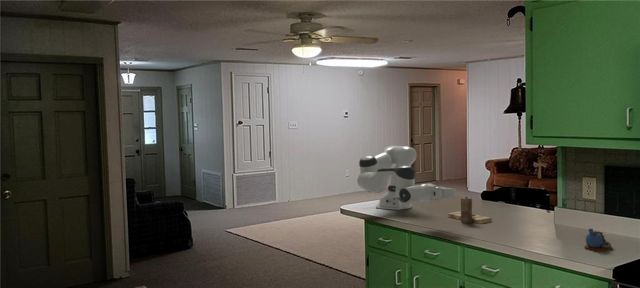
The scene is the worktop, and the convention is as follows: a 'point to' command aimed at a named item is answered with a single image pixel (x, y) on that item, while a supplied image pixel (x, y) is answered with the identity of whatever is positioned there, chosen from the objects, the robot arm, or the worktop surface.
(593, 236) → the model
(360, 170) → the robot arm
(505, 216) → the worktop surface
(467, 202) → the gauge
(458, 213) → the board
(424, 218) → the worktop surface
